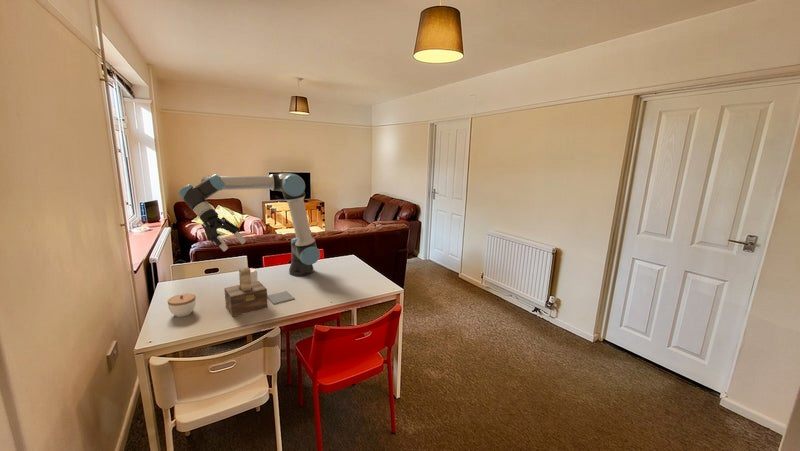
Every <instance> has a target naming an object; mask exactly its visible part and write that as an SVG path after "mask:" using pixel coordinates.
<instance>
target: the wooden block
mask: <svg viewBox="0 0 800 451" xmlns="http://www.w3.org/2000/svg"><path fill="white" fill-rule="evenodd" d="M238 274H239V275H238V276H239V285H240V290H241V292H242V291H246V290H251V275H250V269H249V267H247V266H246V267H239V268H238Z"/></svg>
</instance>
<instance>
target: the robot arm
mask: <svg viewBox="0 0 800 451" xmlns="http://www.w3.org/2000/svg"><path fill="white" fill-rule="evenodd" d="M305 189H306V183H305V180H304V179H303V178H302V177H301V176H300V175H298V174H296V173H290V172H282V173H271V174H269V175H226V176H225V175H220V176H219V175H218V174H217V173H215V174H213V175H206V176H204V177H203V178H202V179H201V180H200V183H198V184H197V185H195V186H194V185H193V184H187V185H184V187H182V188H180V189H179V191H178V195H179V197H180V198H181V199H182V200H183V202H184V203H185V204H186V205H187V206H188V208H190V209H191V211H193V213H195V216H197V217H198V218H199V220H200V221H201V222H203V223H202V224H201V226H202V228H203V230H204V232H205V235H206V238H207V240H208V241H209V242H211V243H215V244H216V245H217V246H218V247H219V248H220V249H221V251H223V252H226V251H227V250H228V249H229V247H228V245H227V244H226V243H225V242H224V241H223V239H222V238H221V237H218V232H217V231H218V229H222V230H223V229H224V230H225V231H228V232H229V233H232V234H233V236H234V237H235V238H236V240H238V242H239V243H240V244H241V245H244V244H245V243H247V240H246V239H245V238H244V237H243V235H242V234H241V233H240V232H239V231H240V228H239V227H238V226H237V225H235V224H234V223H233V222H231V221H230V220H228V219H227V218H225V216H223V217H221V218H220V217H219V214H218V212H217V211H216V210H215V209H213V206H212V205H211V204H210V203H209V202H208V201H207V199H208V198H210V197H211V196H213V195H214V194H216V193H218V192H219V191H237V190H238V191H241V190H247V191H249V190H250V191H251V190H271V191H277V192H282V195H283V199H284V200H285V202H287V204H288V209H289V211H290V212H289V213H290V216H291V220H292V225H293V229H294V234H295V237H293V238H291V242H290V246H291V247H290V248H291V262H290V265H289V270H288V274H289V275H291V276H294V277H304V276H309V275H311V274H313V273H315V272H314V266H313V264H316V263H317V262H318V261H319V260H320V257H321V253H320V250H319V248H318V247H317V242H316V239H315V238H313V237H312V233H311V228H310V223H309V219H308V215H307V210H306V206H305V205H306V204H305V200H304V199H305V197H306V192H305V191H306V190H305Z"/></svg>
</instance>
